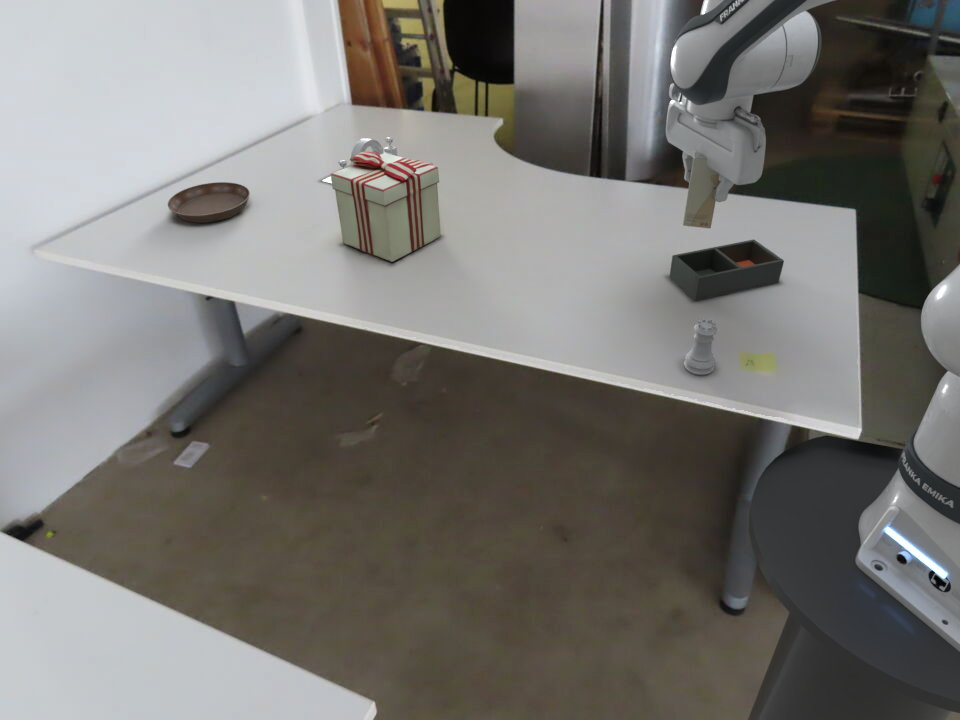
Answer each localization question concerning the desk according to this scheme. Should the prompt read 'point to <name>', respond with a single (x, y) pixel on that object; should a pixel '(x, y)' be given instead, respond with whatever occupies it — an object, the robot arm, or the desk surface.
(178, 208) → the plant saucer
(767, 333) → the desk surface
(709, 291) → the divided tray
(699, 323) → the rook chess piece
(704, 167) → the box
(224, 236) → the desk surface
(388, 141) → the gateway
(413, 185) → the gift box
